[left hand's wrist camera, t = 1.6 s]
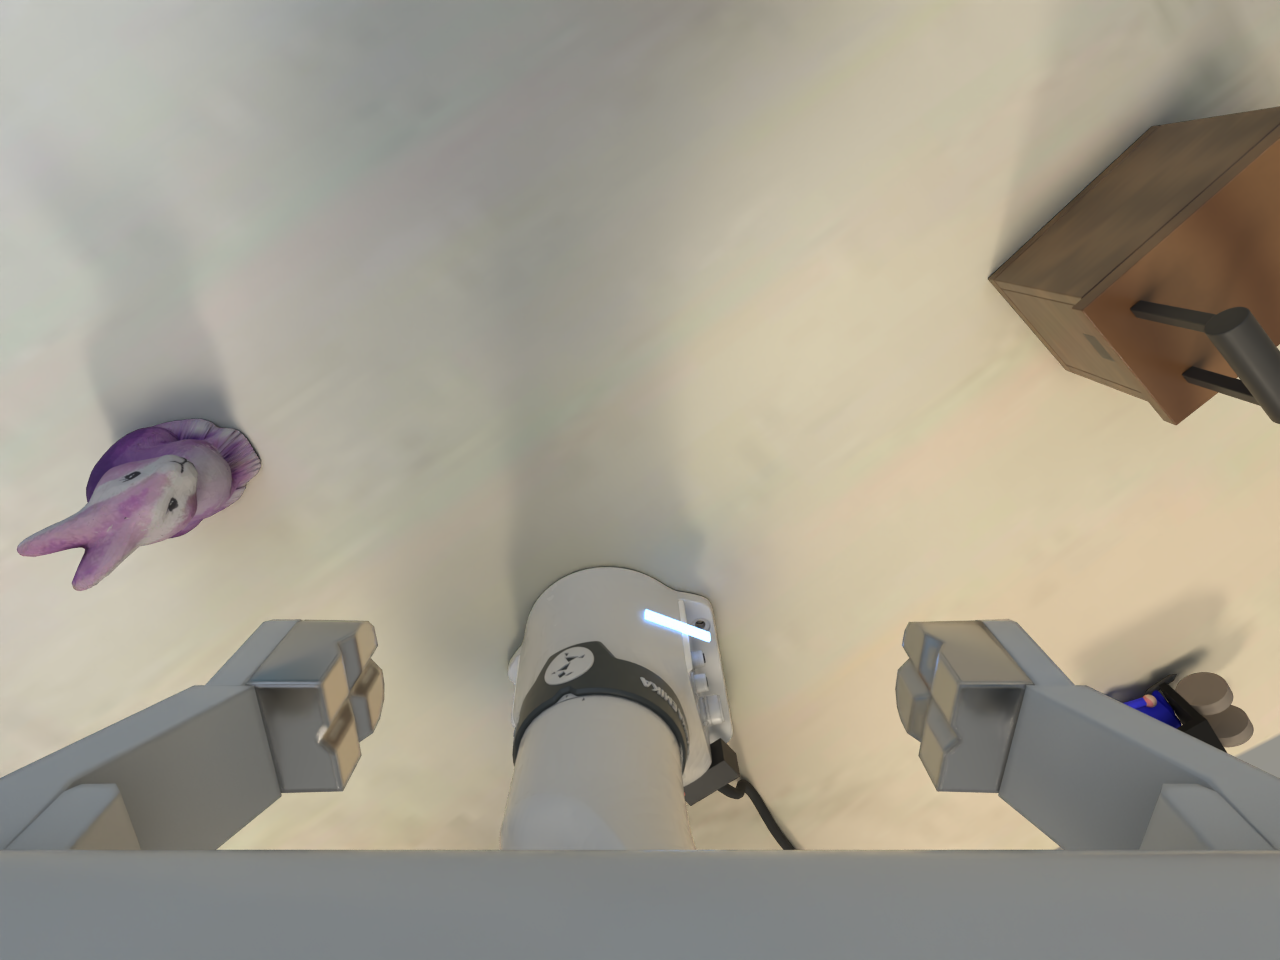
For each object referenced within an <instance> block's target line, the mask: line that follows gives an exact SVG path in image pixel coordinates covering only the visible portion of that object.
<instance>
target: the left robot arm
mask: <svg viewBox="0 0 1280 960" xmlns="http://www.w3.org/2000/svg"><path fill="white" fill-rule="evenodd" d="M697 621H704V623H703V624H696V622H697ZM377 646H378V643H377V638H376V633H375V628H374V626H373V625H372V624H371V623H370V622H369V621H345V620H300V619H286V620H269V621H265V622H263V623H262V624H261V625H260V626H259V627H258V629H257V630H256V631H255V632H254V633H253V634H252V635H251V636H250V637H249V638H248V639H247V640H246V641H245V643H244V644H243V645H242V646H241V647H240V648H239V649H238V650H237V651H236V652H235V653H234V654H233V656H232V657H231V658H230V659H229V660H228V661H227V662H226V663H225V664H224V665H223V666H222V667H221V669H220V670H219V671H218V672H217V673H216V674H215V675H214V676H213V677H212V678H211V679H210V680H209V682H208V683H207V684H206V685H198V686H192V687H190V688H188V689H186V690H184V691H181V692H179V693H177V694H175V695H173V696H171V697H169V698H167V699H165V700H163V701H161V702H158V703H156V704H154V705H152V706H150V707H148V708H146V709H144V710H142V711H140V712H138V713H135V714H133V715H131V716H129V717H127V718H125V719H123V720H121V721H119V722H117V723H115V724H112V725H110V726H108V727H106V728H104V729H102V730H100V731H98V732H96V733H94V734H92V735H89V736H87V737H85V738H83V739H81V740H79V741H77V742H75V743H73V744H71V745H69V746H66V747H64V748H62V749H60V750H58V751H56V752H54V753H52V754H50V755H48V756H46V757H43V758H41V759H39V760H37V761H35V762H33V763H31V764H29V765H27V766H25V767H23V768H20V769H18V770H16V771H14V772H12V773H10V774H8V775H6V776H4V777H2V778H0V960H1280V778H1278V777H1276V776H1274V775H1272V774H1269V773H1267V772H1265V771H1263V770H1261V769H1259V768H1257V767H1255V766H1253V765H1251V764H1249V763H1247V762H1244V761H1242V760H1240V759H1238V758H1236V757H1234V756H1232V755H1230V754H1228V753H1226V752H1224V751H1222V750H1219V749H1217V748H1215V747H1213V746H1211V745H1209V744H1207V743H1205V742H1203V741H1201V740H1199V739H1197V738H1194V737H1192V736H1190V735H1188V734H1186V733H1184V732H1182V731H1180V730H1178V729H1176V728H1174V727H1172V726H1169V725H1167V724H1165V723H1163V722H1161V721H1159V720H1157V719H1155V718H1153V717H1151V716H1149V715H1146V714H1144V713H1142V712H1140V711H1138V710H1136V709H1134V708H1132V707H1130V706H1128V705H1126V704H1124V703H1121V702H1119V701H1117V700H1115V699H1113V698H1111V697H1109V696H1107V695H1105V694H1103V693H1101V692H1099V691H1096V690H1094V689H1092V688H1090V687H1088V686H1082V685H1074V684H1073V683H1072V682H1071V680H1070V679H1069V678H1068V677H1067V676H1066V675H1065V674H1064V673H1063V672H1062V671H1061V670H1060V669H1059V667H1058V666H1057V665H1056V664H1055V663H1054V662H1053V661H1052V660H1051V659H1050V658H1049V657H1048V656H1047V654H1046V653H1045V652H1044V651H1043V650H1042V649H1041V648H1040V647H1039V646H1038V645H1037V644H1036V642H1035V641H1034V640H1033V639H1032V638H1031V637H1030V636H1029V635H1028V634H1027V633H1026V632H1025V631H1024V629H1023V628H1022V627H1021V626H1020V625H1019V624H1018V623H1017V622H1014V621H1012V620H1010V619H995V620H975V621H934V622H909V623H908V625H907V627H906V629H905V632H904V637H903V642H902V646H903V648H904V650H905V651H906V653H907V655H908V656H909V659H908V660H907V661H906V662H905V663H904V664H903V665H902V666H901V667H900V668H899V669H898V672H897V680H896V688H895V690H896V701H897V709H898V712H899V716H900V719H901V722H902V724H903V726H904V728H905V730H906V732H907V733H908V734H909V735H911V736H912V737H914V738H915V739H917V740H918V741H920V742H921V745H920V750H919V757H920V759H921V761H922V763H923V765H924V767H925V769H926V771H927V773H928V775H929V777H930V778H931V780H932V782H933V784H934V786H935V788H936V790H937V791H948V792H984V793H999V794H998V796H999V797H1000V798H1002V799H1003V800H1004V801H1005V802H1007V803H1008V804H1009V805H1010V806H1011V807H1013V808H1014V809H1015V810H1016V811H1018V812H1019V813H1020V814H1021V815H1022V816H1024V817H1025V818H1026V819H1027V820H1028V821H1030V822H1031V823H1032V824H1033V825H1035V826H1036V827H1037V828H1038V829H1039V830H1041V831H1042V832H1043V833H1044V834H1046V835H1047V836H1048V837H1049V838H1050V839H1052V840H1053V841H1054V842H1055V843H1057V844H1058V845H1059V846H1060V847H1061V848H1063V849H1064V850H795V849H794V848H793V846H792V845H791V844H790V843H789V841H788V840H787V839H786V838H785V836H784V835H783V834H782V832H781V831H780V829H779V828H778V826H777V824H776V823H775V821H774V819H773V818H772V816H771V814H770V812H769V811H768V809H767V807H766V805H765V804H764V802H763V800H762V799H761V797H760V795H759V794H758V792H757V791H756V790H755V789H754V787H753V786H752V785H751V784H750V783H749V782H747V781H745V780H740V781H739V782H738V783H737V785H736V788H734V787H732V786H731V785H729V784H728V783H730V782H731V781H733V780H735V779H736V778H738V777H740V773H739V767H738V762H737V756H736V753H735V752H734V751H733V750H732V749H731V748H730V747H729V746H728V745H727V743H728V742H729V740H730V739H731V738H732V735H733V728H732V719H731V713H730V707H729V701H728V696H727V690H726V684H725V678H724V673H723V667H722V661H721V655H720V650H719V644H718V638H717V632H716V626H715V621H714V615H713V609H712V605H711V603H710V601H709V600H708V599H706V598H705V597H702V596H699V595H696V594H691V593H686V592H679V591H675V590H673V589H671V588H669V587H667V586H665V585H664V584H662V583H660V582H659V581H657V580H655V579H654V578H652V577H650V576H647V575H645V574H643V573H640V572H637V571H633V570H629V569H625V568H617V567H598V568H590V569H585V570H581V571H578V572H575V573H572V574H570V575H568V576H566V577H563V578H562V579H560V580H558V581H557V582H555V583H554V584H552V585H551V586H550V587H549V588H548V589H546V590H545V591H544V592H543V593H542V594H541V596H540V597H539V598H538V599H537V601H536V602H535V604H534V605H533V607H532V609H531V611H530V614H529V616H528V619H527V623H526V629H525V635H524V639H523V642H522V645H521V646H520V647H519V648H518V650H517V651H516V652H515V654H514V655H513V657H512V658H511V660H510V662H509V666H508V677H509V679H510V680H511V682H512V683H513V684H514V685H515V690H514V698H513V706H512V715H511V721H512V725H513V727H515V730H514V741H513V763H514V771H513V776H512V780H511V785H510V789H509V794H508V798H507V803H506V807H505V812H504V816H503V821H502V825H501V830H500V837H499V842H500V850H216V849H218V848H219V847H220V846H221V845H222V844H224V843H225V842H226V841H227V840H229V839H230V838H231V837H232V836H233V835H235V834H236V833H237V832H238V831H240V830H241V829H242V828H243V827H244V826H246V825H247V824H248V823H249V822H251V821H252V820H253V819H254V818H255V817H257V816H258V815H259V814H260V813H262V812H263V811H264V810H265V809H266V808H268V807H269V806H270V805H271V804H273V803H274V802H275V801H276V800H277V799H279V798H280V797H281V793H296V792H331V791H343V790H344V788H345V786H346V784H347V782H348V780H349V779H350V777H351V775H352V773H353V771H354V769H355V767H356V765H357V763H358V761H359V759H360V757H361V750H360V745H359V742H360V741H362V740H363V739H365V738H366V737H368V736H369V735H371V734H372V733H373V732H374V730H375V728H376V726H377V723H378V721H379V719H380V716H381V711H382V707H383V702H384V679H383V672H382V669H381V668H380V667H379V666H378V665H377V664H376V663H375V662H374V661H373V660H372V659H371V656H372V655H373V653H374V651H375V650H376V648H377ZM716 790H718V791H720V792H721V793H723V794H724V795H726V796H728V797H730V798H734V799H740V798H742V797H743V795H744V793H746V794H747V795H748V796H749V797H750V799H751V800H752V802H753V803H754V805H755V807H756V808H757V810H758V812H759V814H760V815H761V817H762V819H763V821H764V822H765V824H766V826H767V828H768V829H769V831H770V832H771V834H772V835H773V837H774V838H775V839H776V841H777V842H778V843H779V845H780V846H781V847H782V848H783V850H696V847H695V844H694V841H693V838H692V834H691V829H690V824H689V819H688V814H687V808H686V802H687V803H688V804H689V805H690V806H692V805H693V804H695V803H697V802H698V801H700V800H702V799H703V798H705V797H707V796H708V795H710V794H711V793H713V792H715V791H716ZM685 801H686V802H685Z"/></svg>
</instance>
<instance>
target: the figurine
mask: <svg viewBox="0 0 1280 960" xmlns="http://www.w3.org/2000/svg"><path fill="white" fill-rule="evenodd" d="M260 467H261V464H260V460H259V459H258V456H257V454H256V453H255V451H254V450H253V448H252V447H251V445H250V444H249V441H248V440H247V438H245V437H244V435H243V434H241V433H240V432H239V431H238V430H235V429H233V428H219V427H217V426H215V425H214V424H213V423H212V422H210V421H207V420H204V419H188V420H187V419H185V420H177V421H172V422H166V423H162V424H159V425H156V426H152V427H147V428H141V429H138V430H135V431H133V432H131V433H129V434H127V435H126V436H124V437H123V438H121V439H120V440H118V441H117V442H116V443H115V444H114V445H112V446H111V447H110V448H109V449H108V451H107V452H106V453H105V454H104V455H103V456H102V457H101V459H100V460H99V461H98V462H97V464H96V465H95V466H94V468H93V470H92V472H91V475H90V477H89V481H88V484H87V487H86V496H87V502H88V503H87V504H86V505H85V507H84V508H82V509H81V510H80V511H79V512H77V513H76V514H74V515H72V516H70V517H68V518H66V519H64V520H62V521H60V522H58V523H55V524H53V525H51V526H49V527H47V528H45V529H43V530H41V531H39V532H37V533H35V534H33V535H31V536H29V537H28V538H26V539H25V540H23V541H22V542H21V543H20V544H19V545H18V547H17V551H18V553H19V554H20V555H22V556H31V557H36V556H41V555H46V554H51V553H54V552H59V551H63V550H67V549H71V548H78V547H82V548H84V549H85V553H84V555H83V557H82V560H81V562H80V564H79V566H78V569H77V571H76V574H75V576H74V578H73V581H72V585H73V588H74V589H75V590H77V591H82V590H86V589H88V588H91V587H92V586H94V585H97V584H98V583H99V582H100V581H101V580H102V579H103V578H104V577H106V576H108V575H109V574H110V573H111V572H112V571H113V570H114V569H115V568H116V567H117V566H118V565H119V564H120V563H121V562H122V561H123V560H125V559H126V558H127V557H128V556H129V555H130V554H131V553H132V552H134V551H135V550H136V549H137V548H138V547H139V546H144V545H149V544H153V543H156V542H160V541H163V540H165V539H168V538H174V537H178V536H181V535H184V534H186V533H187V532H189V531H191V530H192V529H193V528H195V527H196V526H197V525H198V524H199V523H200V522H201V521H202V520H203V519H204V518H207V517H210V516H212V515H213V514H215V513H217V512H219V511H221V510H223V509H225V508H226V507H228V506H230V505H231V504H232V503H234V502H235V501H237V500H238V499H239V498H240V497H241V495H242V494H243V492H244V490H245V488H246V483H247V482H249V480H250V479H251V478H253V477H254V476H255V475H256V474H257V473H258V472H259V469H260Z"/></svg>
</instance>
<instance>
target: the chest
mask: <svg viewBox="0 0 1280 960" xmlns="http://www.w3.org/2000/svg"><path fill="white" fill-rule="evenodd" d="M1279 125H1280V106H1279V107H1273V108H1267V109H1260V110H1254V111H1248V112H1241V113H1235V114H1228V115H1222V116H1216V117H1209V118H1203V119H1197V120H1190V121H1184V122H1178V123H1171V124H1165V125H1157V126H1152V127H1151V128H1150V129H1148V130H1147V131H1146V132H1145V133H1144V134H1143V135H1142V136H1141V137H1140V138H1139V139H1138V140H1137V141H1136V142H1134V143H1133V144H1132V145H1131V146H1130V147H1129V148H1128V149H1127V150H1126V151H1125V152H1124V153H1123V154H1122V155H1120V156H1119V157H1118V158H1117V159H1116V160H1115V161H1114V162H1113V163H1112V164H1111V165H1110V166H1109V167H1108V168H1106V169H1105V170H1104V171H1103V172H1102V173H1101V174H1100V175H1099V176H1098V177H1097V178H1096V179H1095V180H1094V181H1092V182H1091V183H1090V184H1089V185H1088V186H1087V187H1086V188H1085V189H1084V190H1083V191H1082V192H1081V193H1080V194H1078V195H1077V196H1076V197H1075V198H1074V199H1073V200H1072V201H1071V202H1070V203H1069V204H1068V205H1067V206H1066V207H1064V208H1063V209H1062V210H1061V211H1060V212H1059V213H1058V214H1057V215H1056V216H1055V217H1054V218H1053V219H1052V220H1050V221H1049V222H1048V223H1047V224H1046V225H1045V226H1044V227H1043V228H1042V229H1041V230H1040V231H1039V232H1038V233H1036V234H1035V235H1034V236H1033V237H1032V238H1031V239H1030V240H1029V241H1028V242H1027V243H1026V244H1025V245H1024V246H1023V247H1021V248H1020V249H1019V250H1018V251H1017V252H1016V253H1015V254H1014V255H1013V256H1012V257H1011V258H1010V259H1009V260H1007V261H1006V262H1005V263H1004V264H1003V265H1002V266H1001V267H1000V268H999V269H998V270H997V271H996V272H995V273H993V274H992V275H991V276H990V277H989V278H988V280H989V281H990V282H991V283H992V284H993V285H994V287H995V288H996V289H997V290H998V291H999V293H1000V294H1001V295H1002V296H1003V297H1004V298H1005V300H1006V301H1007V302H1008V303H1009V304H1010V305H1011V307H1012V308H1013V309H1014V310H1015V311H1016V312H1017V314H1018V315H1019V316H1020V317H1021V318H1022V319H1023V321H1024V322H1025V323H1026V324H1027V325H1028V326H1029V328H1030V329H1031V330H1032V331H1033V332H1034V333H1035V335H1036V336H1037V337H1038V338H1039V339H1040V340H1041V342H1042V343H1043V344H1044V345H1045V346H1046V347H1047V349H1048V350H1049V351H1050V352H1051V353H1052V354H1053V356H1054V357H1055V358H1056V359H1057V360H1058V361H1059V363H1060V364H1061V365H1062V366H1063V367H1064V368H1065V370H1067V371H1070V372H1073V373H1075V374H1078V375H1080V376H1083V377H1085V378H1088V379H1091V380H1093V381H1096V382H1098V383H1101V384H1104V385H1106V386H1109V387H1112V388H1114V389H1117V390H1119V391H1122V392H1125V393H1127V394H1130V395H1132V396H1135V397H1138V398H1140V399H1143V400H1145V401H1147V399H1146V398H1145V397H1144V396H1143V395H1142V393H1141V392H1140V391H1139V390H1138V389H1137V387H1136V386H1135V385H1134V384H1133V382H1132V381H1131V380H1130V379H1129V378H1128V376H1127V375H1126V374H1125V373H1124V372H1123V370H1122V369H1121V368H1120V367H1119V366H1118V364H1117V363H1116V362H1115V361H1114V359H1113V358H1112V357H1111V356H1110V355H1109V353H1108V352H1107V351H1106V350H1105V349H1104V347H1103V346H1102V345H1101V344H1100V342H1099V341H1098V340H1097V339H1096V338H1095V336H1094V335H1093V334H1092V333H1091V332H1090V330H1089V329H1088V328H1087V327H1086V326H1085V324H1084V323H1083V322H1082V321H1081V319H1080V318H1079V317H1078V316H1077V315H1076V313H1075V312H1074V311H1073V310H1072V307H1073V306H1074V305H1075V304H1077V303H1078V302H1079V301H1080V300H1081V299H1082V298H1083V297H1084V296H1086V295H1087V294H1088V293H1089V292H1090V291H1091V290H1092V289H1094V288H1095V287H1096V286H1097V285H1098V284H1099V283H1100V282H1102V281H1103V280H1104V279H1105V278H1106V277H1107V276H1108V275H1110V274H1111V273H1112V272H1113V271H1114V270H1115V269H1116V268H1117V267H1119V266H1120V265H1121V264H1122V263H1123V262H1124V261H1125V260H1127V259H1128V258H1129V257H1130V256H1131V255H1132V254H1133V253H1135V252H1136V251H1137V250H1138V249H1139V248H1140V247H1141V246H1143V245H1144V244H1145V243H1146V242H1147V241H1148V240H1149V239H1150V238H1152V237H1153V236H1154V235H1155V234H1156V233H1157V232H1158V231H1160V230H1161V229H1162V228H1163V227H1164V226H1165V225H1166V224H1168V223H1169V222H1170V221H1171V220H1172V219H1173V218H1174V217H1176V216H1177V215H1178V214H1179V213H1180V212H1181V211H1182V210H1183V209H1185V208H1186V207H1187V206H1188V205H1189V204H1190V203H1191V202H1193V201H1194V200H1195V199H1196V198H1197V197H1198V196H1199V195H1201V194H1202V193H1203V192H1204V191H1205V190H1206V189H1207V188H1209V187H1210V186H1211V185H1212V184H1213V183H1214V182H1215V181H1216V180H1218V179H1219V178H1220V177H1221V176H1222V175H1223V174H1224V173H1226V172H1227V171H1228V170H1229V169H1230V168H1231V167H1232V166H1234V165H1235V164H1236V163H1237V162H1238V161H1239V160H1240V159H1242V158H1243V157H1244V156H1245V155H1246V154H1247V153H1248V152H1249V151H1251V150H1252V149H1253V148H1254V147H1255V146H1256V145H1257V144H1259V143H1260V142H1261V141H1262V140H1263V139H1264V138H1265V137H1267V136H1268V135H1269V134H1270V133H1271V132H1272V131H1273V130H1275V129H1276V128H1277V127H1278V126H1279Z"/></svg>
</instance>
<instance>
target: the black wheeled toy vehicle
mask: <svg viewBox="0 0 1280 960" xmlns="http://www.w3.org/2000/svg"><path fill="white" fill-rule="evenodd" d="M1176 675H1177V674H1173V675H1168V676H1167V677H1165V678H1164V679H1162V680H1161V681H1159V682H1158V683H1156V684H1155V685H1154V686H1152V687H1151V688H1149V689H1148V690H1147V691H1146V693H1145V695H1144V696H1143V698H1138V699H1135V700H1131V701H1128V702H1124V704H1126V705H1128V706H1130V707H1132V708H1134V709H1136V710H1138V711H1140V712H1142V713H1144V714H1146V715H1149V716H1151V717H1153V718H1155V719H1157V720H1159V721H1161V722H1163V723H1165V724H1167V725H1169V726H1172V727H1174V728H1176V729H1178V730H1180V731H1182V732H1184V733H1186V734H1188V735H1190V736H1192V737H1194V738H1197V739H1199V740H1201V741H1203V742H1205V743H1207V744H1209V745H1211V746H1213V747H1215V748H1217V749H1219V750H1222V751H1224V752H1226V750H1225V749H1224V747H1234V746H1238V745H1241V744H1243V743H1245V742H1247V741H1248V740H1249V739H1250V738H1251V736H1252V735H1253V731H1254V729H1253V725H1252V723H1251V721H1250V720H1249V718H1248V716H1247V715H1246V713H1245V712H1244V711H1243V710H1242V709H1240V708H1238V707H1236V706H1233V705H1231V703H1232V701H1233V693H1232V691H1231V689H1230V688H1229V686H1228V684H1227V683H1226V681H1225V680H1224V679H1223V678H1222V677H1221V676H1219V675H1217V674H1213V673H1208V672H1201V673H1195V674H1191V675H1189V676H1187V677H1185V678H1183V679H1182V680H1181V681H1180V682H1179V683H1178V685H1177V687H1176V692H1175V691H1174V690H1173V689H1172V688H1171V687H1170V686H1169V685H1168V684H1169V683H1170V682H1172V681H1173V680H1174V679H1175V677H1176ZM1160 689H1161V690H1162V692H1163V694H1164V695H1165V697H1166V698H1167V700H1168V702H1167V701H1166V700H1165V698H1164V697H1163V696H1162V695H1161V693H1160V692H1159V691H1158V690H1160ZM1174 711H1175V712H1174ZM1175 713H1176V715H1177V716H1178V718H1179V719H1180V720H1179V719H1178V718H1177V717H1176V715H1175ZM1181 723H1182V724H1183V725H1182V726H1181ZM1226 753H1227V752H1226Z"/></svg>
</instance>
